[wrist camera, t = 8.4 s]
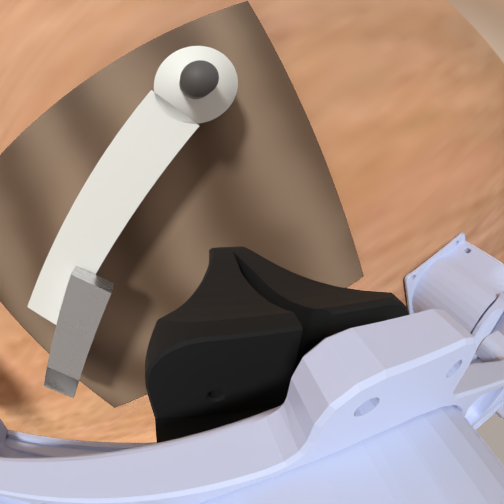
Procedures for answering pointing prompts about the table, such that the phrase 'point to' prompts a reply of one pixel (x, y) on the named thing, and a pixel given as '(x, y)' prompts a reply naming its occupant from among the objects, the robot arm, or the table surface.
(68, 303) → the block
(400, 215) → the table surface
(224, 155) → the pivot board
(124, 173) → the pivot bar
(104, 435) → the table surface
